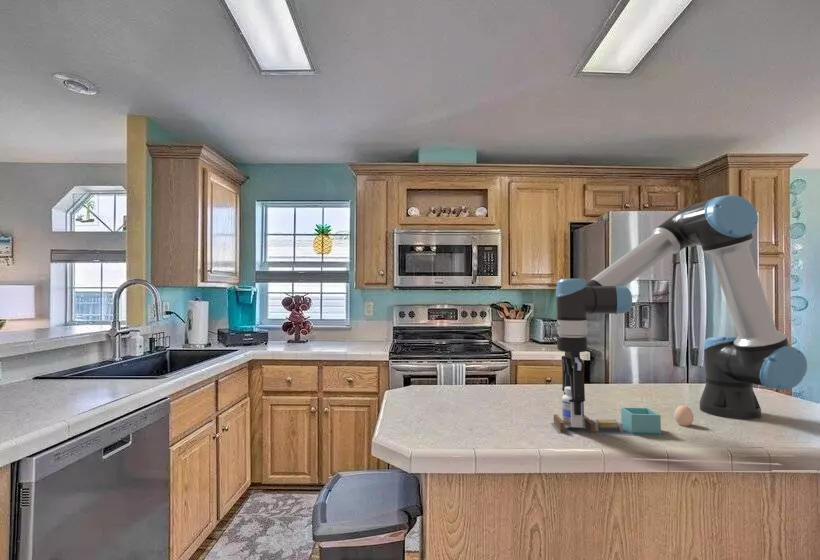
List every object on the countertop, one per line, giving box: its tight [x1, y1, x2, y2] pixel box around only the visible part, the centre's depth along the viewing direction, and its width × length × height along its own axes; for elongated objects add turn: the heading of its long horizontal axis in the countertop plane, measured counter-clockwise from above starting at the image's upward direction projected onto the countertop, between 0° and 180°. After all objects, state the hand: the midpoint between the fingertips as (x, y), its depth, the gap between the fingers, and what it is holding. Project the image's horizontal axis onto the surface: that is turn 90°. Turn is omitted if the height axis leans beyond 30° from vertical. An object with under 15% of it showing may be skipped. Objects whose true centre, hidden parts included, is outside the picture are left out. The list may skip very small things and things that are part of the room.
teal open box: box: [620, 406, 662, 435], centre depth 113 cm, size 7×7×5 cm
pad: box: [595, 418, 617, 428], centre depth 114 cm, size 4×3×1 cm
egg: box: [673, 404, 694, 427], centre depth 118 cm, size 4×4×6 cm
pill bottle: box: [561, 386, 585, 426], centre depth 115 cm, size 5×5×10 cm
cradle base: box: [590, 418, 623, 432], centre depth 114 cm, size 7×4×2 cm, turn 84°
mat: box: [550, 422, 666, 438], centre depth 114 cm, size 26×9×1 cm, turn 84°
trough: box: [553, 414, 595, 435], centre depth 115 cm, size 8×8×2 cm
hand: (573, 423), depth 115 cm, fingers closed on pill bottle, 5 cm apart
